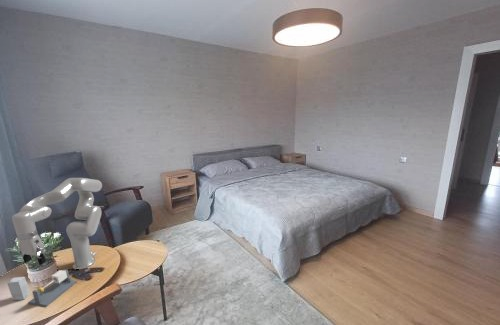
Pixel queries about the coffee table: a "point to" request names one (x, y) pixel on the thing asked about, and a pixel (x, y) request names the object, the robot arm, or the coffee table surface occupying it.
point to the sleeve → (59, 276)
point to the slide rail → (51, 291)
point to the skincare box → (18, 288)
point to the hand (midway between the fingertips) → (35, 262)
